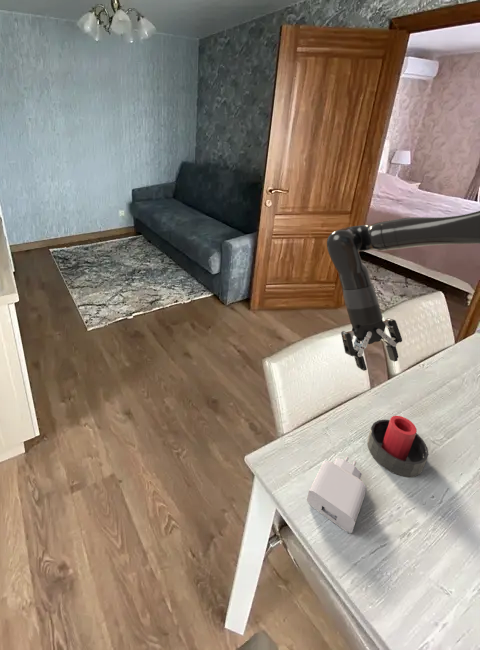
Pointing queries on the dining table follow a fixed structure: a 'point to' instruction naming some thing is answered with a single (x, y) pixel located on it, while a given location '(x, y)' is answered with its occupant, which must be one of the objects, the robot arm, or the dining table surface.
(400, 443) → the red cup
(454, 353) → the dining table surface
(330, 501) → the charger
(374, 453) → the pan
